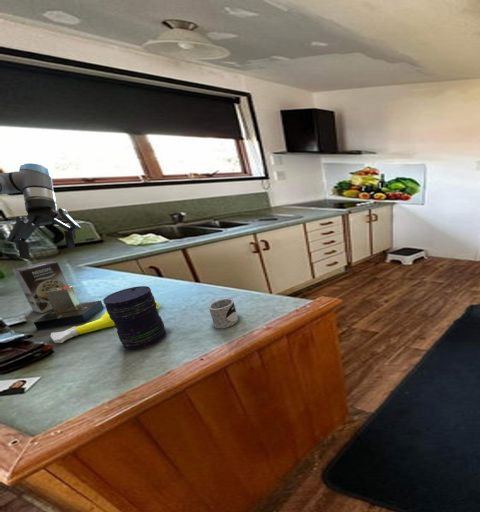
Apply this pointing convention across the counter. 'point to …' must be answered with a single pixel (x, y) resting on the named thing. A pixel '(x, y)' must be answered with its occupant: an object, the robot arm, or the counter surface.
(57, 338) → the yellow flared piece
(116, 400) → the counter surface
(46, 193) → the robot arm
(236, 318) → the mug
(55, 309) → the small grey box
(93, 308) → the dispenser panel
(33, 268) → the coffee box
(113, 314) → the storage jar
